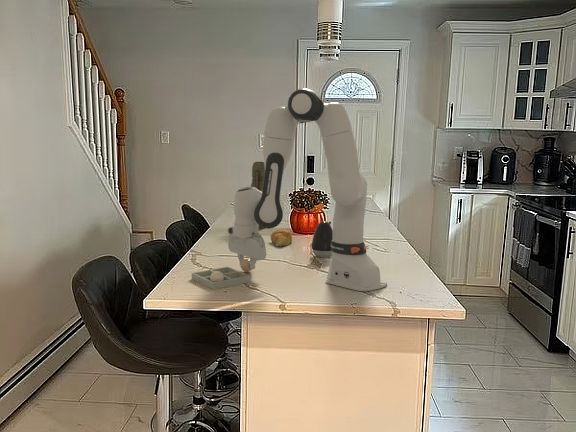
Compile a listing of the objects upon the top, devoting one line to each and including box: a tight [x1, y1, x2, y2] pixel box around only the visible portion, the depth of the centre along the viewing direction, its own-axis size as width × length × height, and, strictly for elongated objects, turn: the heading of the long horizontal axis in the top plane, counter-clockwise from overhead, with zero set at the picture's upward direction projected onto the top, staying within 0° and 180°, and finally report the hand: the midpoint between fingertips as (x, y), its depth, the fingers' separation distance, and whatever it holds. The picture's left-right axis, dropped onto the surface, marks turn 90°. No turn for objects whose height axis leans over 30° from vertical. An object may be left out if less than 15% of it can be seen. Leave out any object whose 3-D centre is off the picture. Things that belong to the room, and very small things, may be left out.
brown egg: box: [240, 258, 252, 273], centre depth 206 cm, size 5×5×5 cm
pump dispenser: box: [311, 220, 333, 259], centre depth 234 cm, size 10×10×15 cm
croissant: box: [269, 228, 293, 247], centre depth 260 cm, size 21×10×8 cm, turn 178°
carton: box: [191, 266, 251, 290], centre depth 195 cm, size 15×15×3 cm
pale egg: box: [210, 271, 224, 282], centre depth 189 cm, size 5×5×5 cm
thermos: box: [250, 161, 265, 229], centre depth 296 cm, size 9×12×35 cm
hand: (247, 267), depth 206 cm, fingers closed on brown egg, 5 cm apart
